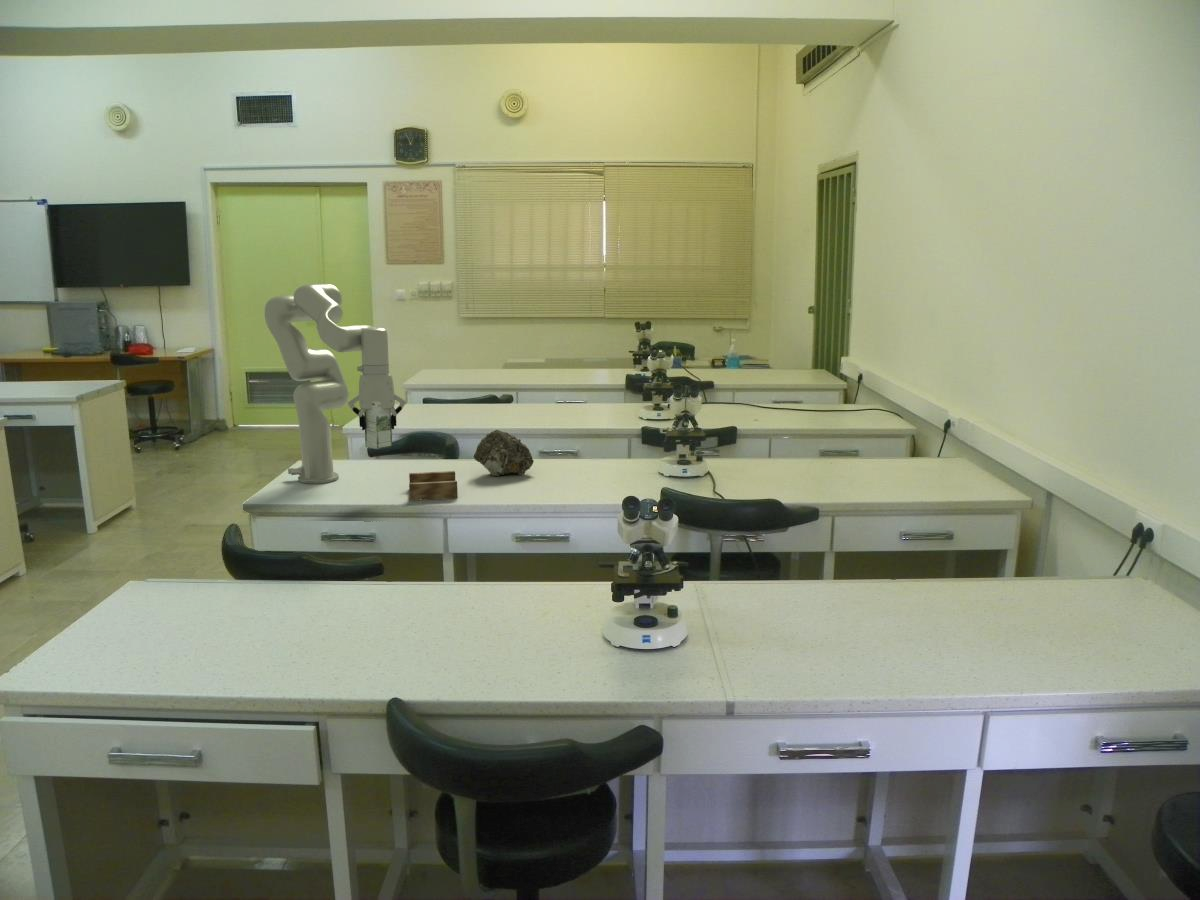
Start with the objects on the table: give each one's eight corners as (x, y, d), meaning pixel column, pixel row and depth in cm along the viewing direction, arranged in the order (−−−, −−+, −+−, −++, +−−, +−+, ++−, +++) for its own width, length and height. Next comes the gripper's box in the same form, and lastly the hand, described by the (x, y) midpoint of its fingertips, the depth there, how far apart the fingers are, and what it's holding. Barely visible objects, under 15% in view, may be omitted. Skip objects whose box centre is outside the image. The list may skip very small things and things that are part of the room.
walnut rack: (409, 500, 269) (409, 484, 268) (409, 488, 282) (409, 473, 281) (457, 498, 272) (457, 481, 271) (455, 486, 285) (454, 470, 284)
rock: (495, 427, 290) (499, 411, 304) (466, 458, 294) (471, 441, 308) (538, 463, 295) (540, 445, 309) (509, 493, 299) (513, 474, 313)
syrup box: (380, 443, 275) (378, 396, 272) (393, 446, 271) (391, 398, 268) (365, 446, 271) (362, 398, 267) (377, 449, 267) (375, 401, 264)
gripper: (344, 372, 261) (347, 432, 265) (406, 371, 264) (408, 430, 268) (345, 368, 268) (348, 427, 272) (406, 368, 271) (408, 425, 275)
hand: (378, 428), depth 270 cm, fingers closed on syrup box, 8 cm apart
